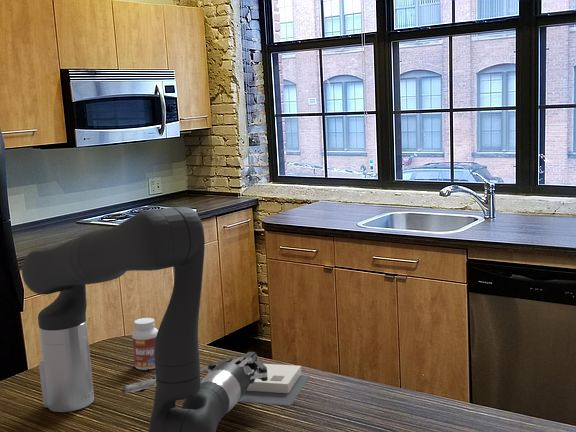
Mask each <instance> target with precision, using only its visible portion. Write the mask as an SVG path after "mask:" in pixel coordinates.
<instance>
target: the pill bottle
mask: <svg viewBox="0 0 576 432" xmlns="http://www.w3.org/2000/svg"><path fill="white" fill-rule="evenodd" d="M155 322H156V321H155V319H154V318H152V317H142V318H138V319H136V320H134V322H133V323H134V324H133V325H134V326H133V327H134V328H135V329H134V331H132V333H131V339H132V341H131V342H132V350H133V351H132V353H133V362H134V367H135V368H136V369H138V370H140V371H148V369H149V370H153V369H155V360H154V346H155V340H156V336H157V332H158V329H157V328H156V327H155V326H156V323H155Z"/></svg>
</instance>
